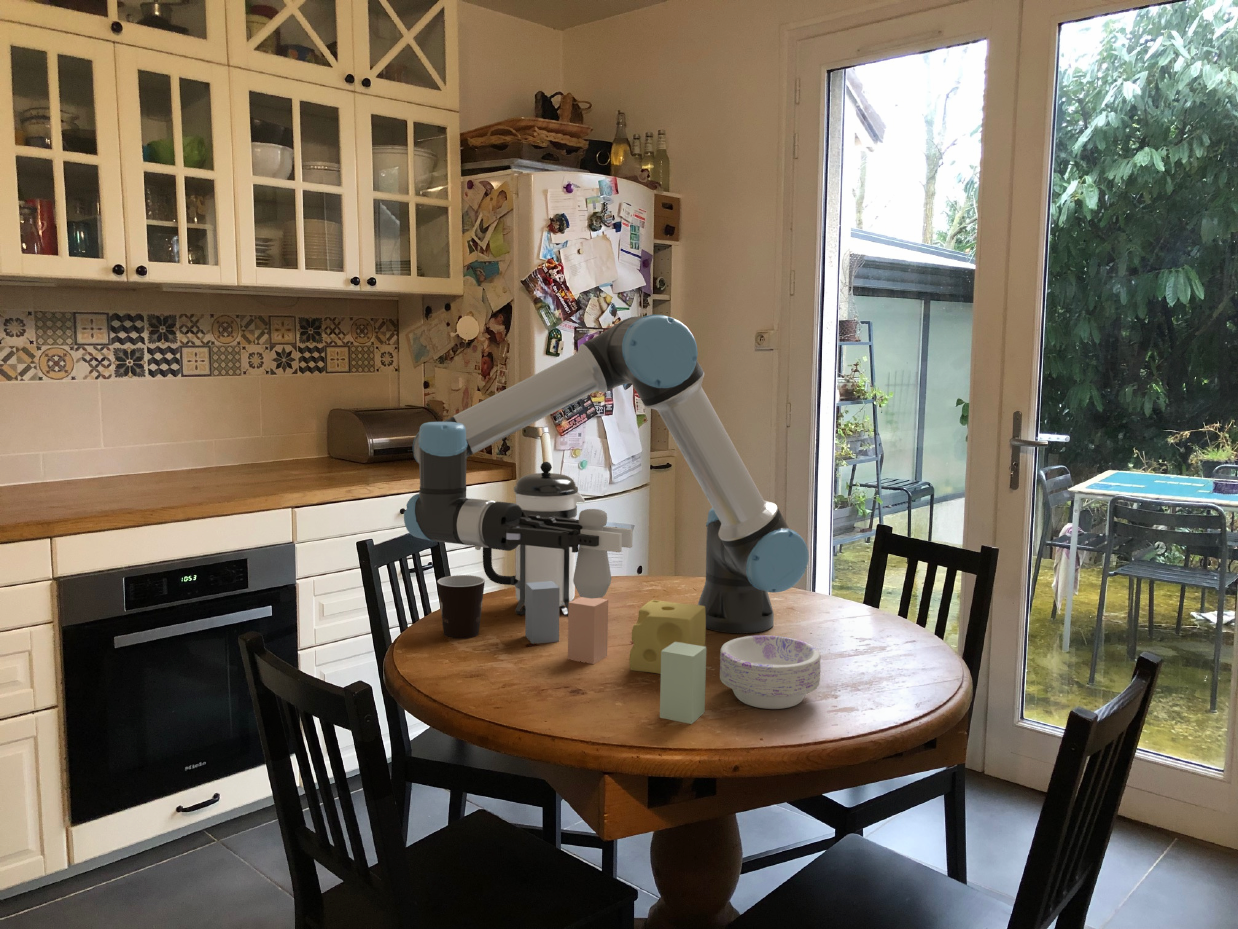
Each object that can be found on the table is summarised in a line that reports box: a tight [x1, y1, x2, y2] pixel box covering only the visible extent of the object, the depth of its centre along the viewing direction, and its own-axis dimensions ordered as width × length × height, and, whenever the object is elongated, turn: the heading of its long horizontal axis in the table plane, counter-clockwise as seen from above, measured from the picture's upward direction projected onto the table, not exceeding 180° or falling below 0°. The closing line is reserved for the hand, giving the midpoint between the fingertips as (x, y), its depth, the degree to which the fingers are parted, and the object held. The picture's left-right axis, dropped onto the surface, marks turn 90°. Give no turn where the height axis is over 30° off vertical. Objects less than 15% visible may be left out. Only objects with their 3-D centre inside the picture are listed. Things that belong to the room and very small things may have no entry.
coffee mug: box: [436, 574, 486, 640], centre depth 181 cm, size 12×9×10 cm
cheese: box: [628, 599, 707, 675], centre depth 164 cm, size 10×11×10 cm
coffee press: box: [482, 461, 586, 616], centre depth 195 cm, size 17×16×30 cm
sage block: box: [659, 642, 707, 725], centre depth 142 cm, size 5×5×10 cm
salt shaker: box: [573, 508, 612, 599], centre depth 146 cm, size 6×6×13 cm
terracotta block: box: [567, 596, 609, 665], centre depth 167 cm, size 5×5×10 cm
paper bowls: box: [719, 634, 822, 710], centre depth 149 cm, size 15×15×8 cm
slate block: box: [524, 581, 560, 645], centre depth 177 cm, size 5×5×10 cm
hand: (625, 540), depth 143 cm, fingers closed on salt shaker, 3 cm apart
